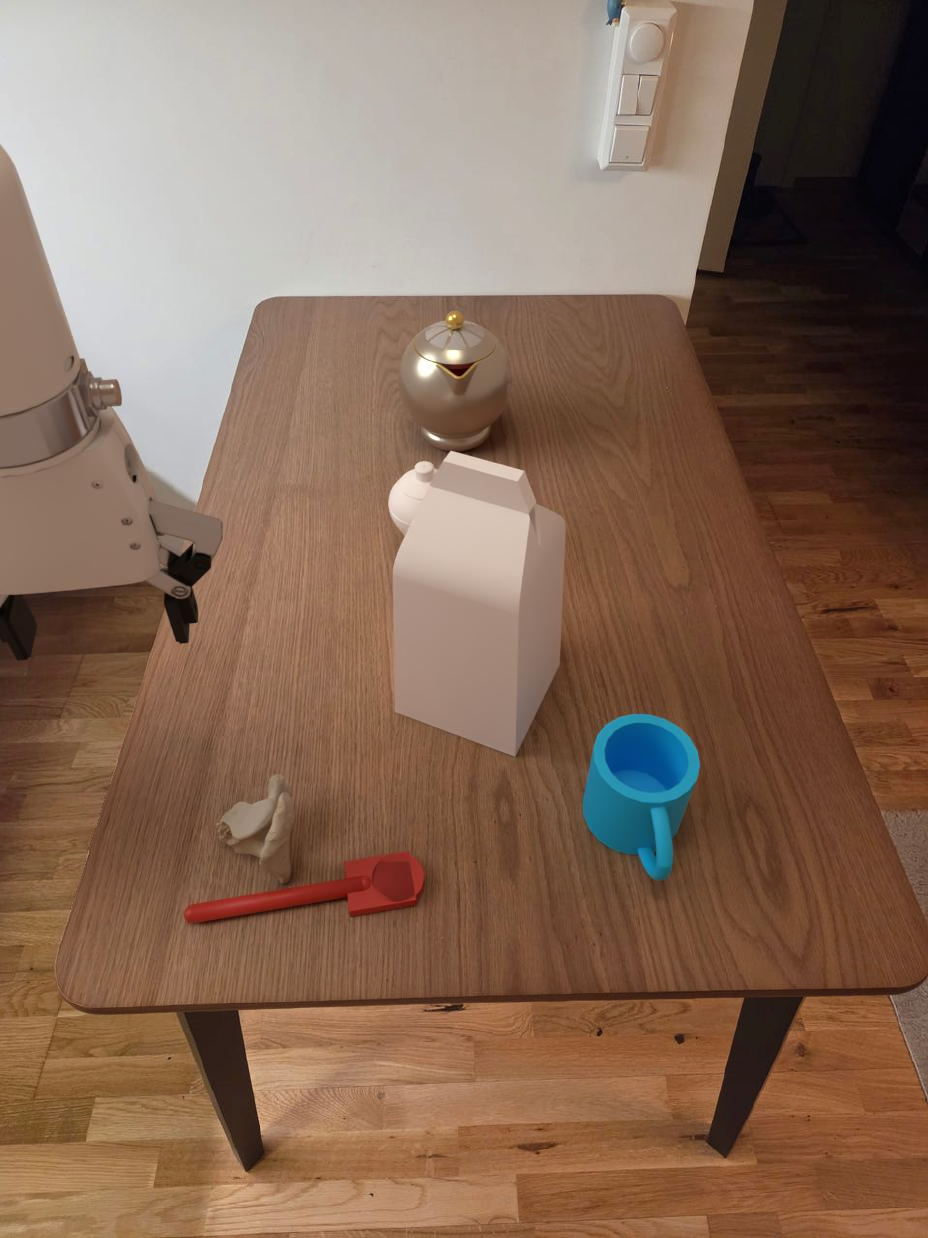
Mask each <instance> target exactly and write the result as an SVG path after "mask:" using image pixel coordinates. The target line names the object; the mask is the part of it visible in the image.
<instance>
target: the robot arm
mask: <svg viewBox="0 0 928 1238" xmlns="http://www.w3.org/2000/svg"><path fill="white" fill-rule="evenodd" d="M59 293H60V292H59V290H58V287H57V284H56V282H55V278H54V276H53V273H52V269H51V266H50V263H49V260H48V257H47V254H46V250H45V249H44V245H43V243H42V239H41V236H40V233H39V231H38V228H37V225H36V222H35V218H34V215H33V212H32V209H31V206H30V203H29V200H28V197H27V194H26V191H25V188H24V186H23V182H22V179H21V178H20V175H19V172H18V170H17V167H16V165H15V163H14V161H13V159H12V158H11V156H10V155H9V153H8V151H7V150H6V149H5V148H4V146H3V145H2V144H1V143H0V641H1V642H2V643H7V645H8V647H9V649H10V650H11V653H12V654H13V656H14V658H15V659H16V661H18V662H20V661H21V662H22V661H27V660H28V659H29V658H31V657H32V653H33V648H34V643H35V639H36V635H37V630H38V623H37V622H38V621H36V618H35V616H34V614H33V612H32V610H31V608H30V606H29V605H28V602H27V600H26V598H25V596H24V595H30V594H43V593H45V594H46V593H54V592H67V591H76V590H77V591H78V590H88V589H95V588H98V589H99V588H104V587H105V588H106V587H114V586H124V585H131V584H138V583H141V582H145V583H147V584H149V585H151V586H152V587H154V588H156V589H158V590H159V591H162V592H163V593H164V595H163V606H164V609H165V612H166V615H167V618H168V619H167V620H168V621H169V625H170V627H171V630H172V634H173V637H174V640H175V643H179V644H180V645H181V644H189V642H190V627H191V625H190V624H198V623H199V607H198V602H197V599H196V594H195V592H194V588H193V586H195V584H197V583H198V582H199V581H200V580H201V579H202V578H203V577H204V576H205V574H207V573H208V572H209V571H210V570H211V569H212V563H213V561H214V558H215V557H216V555H217V553H218V550H219V548H220V547H221V544H222V542H223V539H224V523H223V521H222V520H221V519H219V518H218V517H214V516H210V515H207V514H203V513H200V512H196V511H192V510H189V509H184V508H181V507H179V506H178V507H177V506H174V505H170V504H167V503H163V502H159V500H158V497H157V494H156V492H155V489H154V486H153V485H152V481H151V479H150V477H149V475H148V472H147V470H146V467H145V465H144V463H143V460H142V458H141V457H140V454H139V451H138V450H137V448H136V446H135V444H134V441H133V440H132V438H131V436H130V434H129V432H128V430H127V429H126V426H125V425H124V423H123V421H122V419H121V418H120V416H119V415H118V413H117V412H116V410H115V409H114V408H113V407H121V406H122V403H123V398H122V397H123V396H122V390H121V386H120V383H119V380H118V379H117V378H109V379H103V378H102V376H98V377H95V376H94V374H93V373H92V371H91V370H89V369H88V366H87V361H86V360H85V357H84V358H81V357H80V354H79V351H78V348H77V345H76V341H75V339H74V336H73V333H72V329H71V327H70V324H69V321H68V317H67V314H66V311H65V308H64V306H63V302H62V300H61V298H60V297H61V296H60V294H59ZM165 535H167V536H171V537H174V538H177V539H182V540H186V541H190V542H192V543H191V544H190V545H189V546H188V547H187V548H186V549H185V550H184V551H183V552H182V551H181V550H179V549H178V548H176V547H174V546H172V545H171V544H169V543H168V542H166V541H165V540H163V539H161V538H159V537H163V536H165ZM162 565H163V566H162Z"/></svg>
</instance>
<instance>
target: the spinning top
mask: <svg viewBox="0 0 928 1238" xmlns="http://www.w3.org/2000/svg"><path fill="white" fill-rule="evenodd" d="M438 469H439V468H435V465H434V464H433V463H432V462H430V461H426V460H422V461H419V462H417V463H416V464H415V465H414V468H413V469H410V470H408V471H406V472H405V473H403V475H402V476H401V477H400V478H399V479H398V480H397V481H396V482H395V483H394V485H393V486H392V488H391V490H390V492H389V495H388V503H387V504H388V505H387V507H388V511H389V515H390V517H391V520H392V521H393V523H394V525H395V526H396V528H397V529H398V530H399V531H400V532H401V533H402V535H403V536H404V537H405V535H406V533H407V531H408V529H409V527H410V525H411V523H412V520H413V518H414V516H415V514H416V512H417V510H418V508H419V506H420V504H421V502H422V500H423V497H424V495H425V493H426V491H427V489H428V488H429V487H431V485H430V483H431V482H432V480H433V478H434V476H435V474H436V473H437V471H438Z"/></svg>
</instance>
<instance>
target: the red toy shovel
mask: <svg viewBox="0 0 928 1238" xmlns="http://www.w3.org/2000/svg"><path fill="white" fill-rule="evenodd" d="M344 873H345V874H344V875H345V878H340V879H333V880H329V881H322V882H316V883H311V884H305V885H298V886H291V887H286V888H285V887H284V888H280V889H274V890H268V891H262V892H261V891H260V892H257V893H250V894H243V895H237V896H232V897H225V898H220V899H214V900H208V901H203V902H197V903H191V904H189V905H187V907H185V909H184V912H183V917H184V918H183V919H184V920H185V921H186V922H187V923H190V924H198V923H202V922H203V923H204V922H208V921H209V922H210V921H215V920H220V919H226V918H231V917H237V916H245V915H251V914H255V913H256V914H257V913H262V912H268V911H275V910H279V909H287V908H291V907H296V906H303V905H309V904H314V903H320V902H321V903H322V902H326V901H332V900H336V899H344V898H347V904H348V913H349V917H351V918H352V917H356V916H362V915H363V916H364V915H368V914H374V913H379V912H386V911H392V910H398V909H404V908H409V907H415V906H418V903H417V902H418V900H419V899H420V897H421V896H422V894H423V892H424V889H425V884H426V880H425V879H426V878H425V870H424V868H423V865H422V864H421V862H420V861H419V860H418V859H417V858H415V857H414V856H412V855H411V853H410V850H405V851H400V852H393V853H388V854H381V855H376V856H370V857H369V856H368V857H364V858H357V859H351V860H346V861H344Z"/></svg>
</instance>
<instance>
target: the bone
mask: <svg viewBox="0 0 928 1238" xmlns="http://www.w3.org/2000/svg"><path fill="white" fill-rule="evenodd" d="M292 789H293V788H292V786H291V784H289V783H288V782H287V780H286V779H285V776H284V775H283V774H279V773H275V774H273V775H272V776H271V777H270V778H269V779H268V785H267V787H266V793H267V798H264V799H260V800H258V801H256V802H254V803H253V804H252V803H248V802H246V801H242V800H241V801H238V802H236V803H235V804H234V805H232V806H231V808H229V810H228V811H226V812H225V813H223V816H222V817H221V818H220V820H219V822H216V824H215V827H216V828H215V829H216V831H217V834H219V836H218V840H219V841H220V842H222V843H223V844H227V845H228V846H229V847H231V848H232V849H233V853H234V854H239V855H240V854H241V855H242V854H243V855H251V856H254V857H257V858H259V860H258V861H259V862H258V864H259V867H260V868H261V869H263V870H264V871H265V872H268V873H270V874H271V875H272V876H273V877H274V878H275V879H277V880H278V882H279V883H280V884H281V885H282V886H284V885H286V884H287V883H289V882H290V879H291V874H292V873H291V872H292V868H291V867H292V865H291V860H290V859H291V856H290V837H291V831H292V829H293V827H294V823H295V820H296V818H295V817H296V816H295V806H294V803H293V797H292V795H293V791H292Z"/></svg>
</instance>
